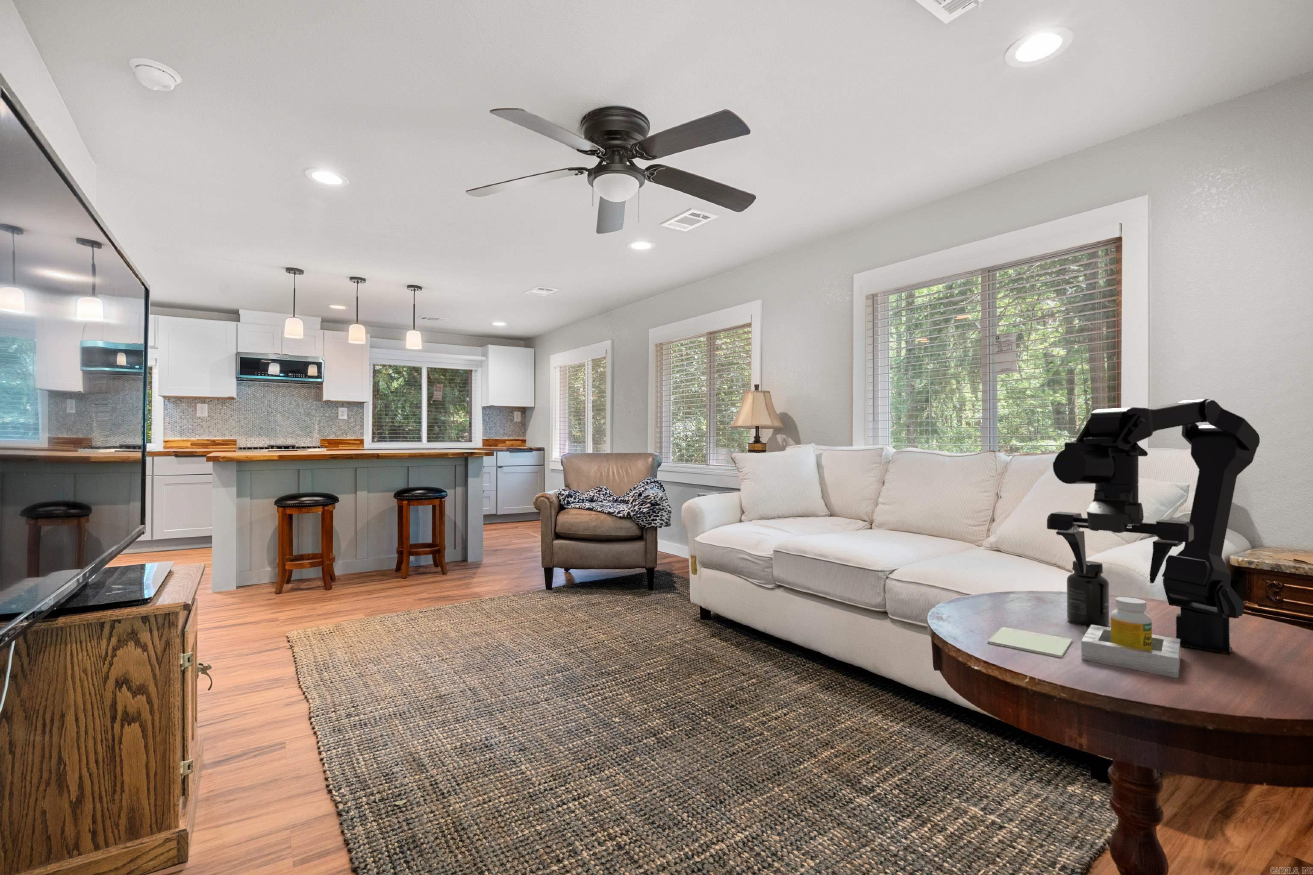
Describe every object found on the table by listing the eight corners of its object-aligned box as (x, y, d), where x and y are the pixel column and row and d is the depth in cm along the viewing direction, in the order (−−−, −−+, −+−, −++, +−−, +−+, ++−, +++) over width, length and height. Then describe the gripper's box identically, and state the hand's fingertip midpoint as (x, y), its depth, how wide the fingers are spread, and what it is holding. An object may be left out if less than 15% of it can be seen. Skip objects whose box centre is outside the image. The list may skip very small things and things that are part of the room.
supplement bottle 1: (1117, 629, 115) (1116, 566, 115) (1076, 627, 116) (1076, 564, 116) (1098, 619, 121) (1097, 559, 121) (1060, 617, 123) (1060, 558, 123)
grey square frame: (1180, 657, 100) (1180, 638, 100) (1178, 678, 91) (1178, 658, 91) (1091, 641, 108) (1091, 624, 108) (1081, 659, 99) (1081, 640, 99)
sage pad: (1072, 641, 107) (1072, 639, 107) (1061, 657, 99) (1061, 655, 99) (1002, 628, 115) (1002, 626, 115) (987, 643, 107) (987, 640, 107)
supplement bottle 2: (1114, 650, 103) (1113, 594, 103) (1154, 658, 99) (1153, 599, 99) (1107, 658, 99) (1107, 599, 99) (1149, 666, 95) (1149, 605, 95)
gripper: (1036, 482, 101) (1036, 575, 101) (1182, 489, 88) (1183, 596, 87) (1056, 480, 109) (1056, 566, 109) (1194, 486, 95) (1194, 585, 95)
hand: (1116, 578), depth 100 cm, fingers open, 9 cm apart
